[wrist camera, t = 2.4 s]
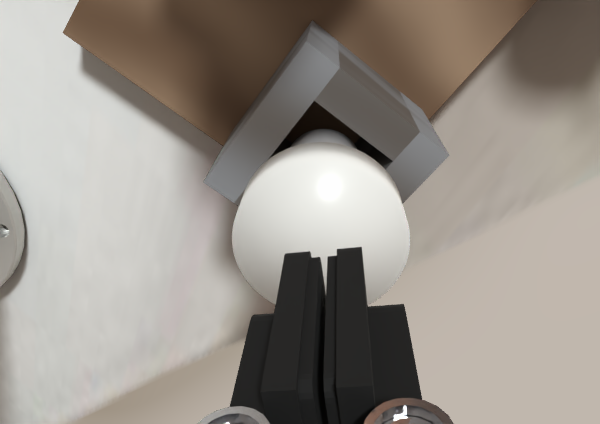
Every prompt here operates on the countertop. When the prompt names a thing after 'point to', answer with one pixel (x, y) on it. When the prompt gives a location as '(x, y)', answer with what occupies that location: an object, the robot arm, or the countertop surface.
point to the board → (300, 71)
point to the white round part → (320, 213)
